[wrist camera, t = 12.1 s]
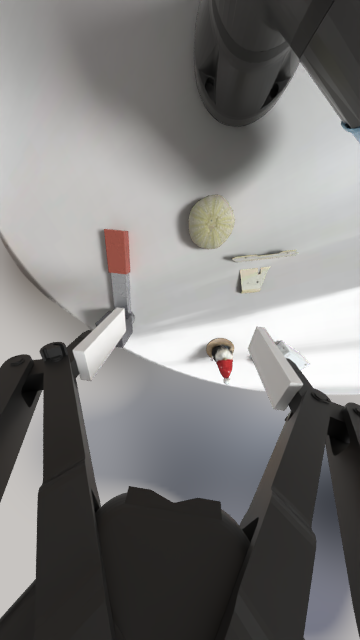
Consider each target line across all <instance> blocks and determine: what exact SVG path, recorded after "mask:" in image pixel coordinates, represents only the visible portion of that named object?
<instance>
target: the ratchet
mask: <svg viewBox="0 0 360 640" xmlns="http://www.w3.org/2000/svg"><path fill="white" fill-rule="evenodd" d="M104 233H105V243H106V252H107V261H108V270H109V272H110V273H111V279H112V289H113V299H114V308H115V309H116V308H117V307H119V308H124V309H125V313H131V314H132V324H133V322H134V320H135V317H134V314H133V313H132V312H131V304H130V284H129V273H130V259H129V238H128V231H121V230H112V229H104Z"/></svg>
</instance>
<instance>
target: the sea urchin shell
mask: <svg viewBox="0 0 360 640" xmlns="http://www.w3.org/2000/svg"><path fill="white" fill-rule="evenodd" d="M234 221H235V219H234V214H233V210H232V209H231V207H230V205H229V203H228V202H227V201H226V200H225V199H224V198H223V197H222V196H220V195H211V196H207V197H205V198H203V199H201V200H199V202H197V203H196V204H195V205H194V206H193V207H192V210H191V212H190V216H189V221H188V222H189V223H188V224H189V232H190V236H191V239H192V241H193V242H194V243H195V244H196V245H198V246H199V247H201V248H205V249H215V248H218V247H220V246H221V245H222V244H223V243H224V242H225V241H226V239H227V238H228V237H229V235H230V234H231V232H232V229H233V227H234Z"/></svg>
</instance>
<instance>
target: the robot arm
mask: <svg viewBox="0 0 360 640" xmlns="http://www.w3.org/2000/svg"><path fill="white" fill-rule="evenodd" d="M300 62H301V64H302V65H303V66H304V68H305V69H306V71H307V72H308V73H309V75H310V76H311V78H312V79H313V81H314V82H315V83H316V85H317V86H318V88H319V89H320V90H321V92H322V93H323V95H324V96H325V98H326V99H327V100H328V102H329V103H330V105H331V106H332V107H333V109H334V110H335V112H336V113H337V115H338V116H339V117H340V119H341V120H342V122H341V125H342V127H343V129H345V130H346V131H348V132H351V133H352V134H353V135H354V137H355V138H356V139H357V140H358V141H359V142H360V0H200V5H199V9H198V14H197V20H196V27H195V39H194V66H195V76H196V82H197V86H198V90H199V93H200V96H201V99H202V101H203V103H204V105H205V107H206V108H207V110H208V111H209V112H210V114H211V115H212V116H213V117H214V118H215V119H217V120H218V121H220V122H221V123H223V124H226V125H229V126H244V125H247V124H250V123H252V122H254V121H256V120H258V119H259V118H261V117H262V116H263V115H265V114H266V113H267V112H268V111H269V110H270V109H271V108H272V107H273V106H274V105H275V103H276V102H277V101H278V99H279V98H280V97H281V95H282V93H283V92H284V90H285V89H286V87H287V85H288V84H289V82H290V81H291V79H292V77H293V75H294V73H295V71H296V69H297V67H298V65H299V63H300ZM125 332H126V324H125V309H124V308H119V307H117V308H116V309H115V310H114V311H113V312H112V313H110V314H109V315H108V316H107V317H106V318H105V319H104V320H103V321H102V322H101V323H100V324H99V325H98V326H97V327H96V328H95V329H94V330H93V331H91V330H88V331H86V332H84V333H82V334H81V335H80V336H79V337H78V338H76V339H75V341H73V342H72V343H71V344H70V345H69V346H68V347H66V345H65V344H64V343H62V342H53V343H50V344H47V345H45V346H44V347H42V348H41V350H40V354H41V356H42V359H40V360H32V359H31V357H30V356H29V355H18V356H15V357H12V358H10V359H8V360H7V361H5V362H4V363H3V365H2V366H1V368H0V502H1V499H2V496H3V494H4V491H5V488H6V486H7V483H8V480H9V478H10V474H11V472H12V469H13V467H14V464H15V461H16V459H17V456H18V453H19V451H20V448H21V445H22V443H23V440H24V437H25V435H26V432H27V429H28V426H29V424H30V421H31V418H32V416H33V413H34V410H35V408H36V405H37V402H38V400H39V397H40V394H41V392H42V390H44V414H43V417H44V419H43V428H44V429H43V433H44V434H43V448H44V449H43V484H42V486H41V487H40V488H39V492H38V510H37V554H36V579H35V580H34V582H33V583H32V584H31V585H30V586H29V587H28V588H27V589H26V590H25V592H24V593H23V594H22V595H21V596H20V597H19V598H18V599H17V601H16V602H15V603H14V604H13V605H12V606H11V607H10V608H9V609H8V611H7V612H6V613H5V614H4V615H3V616H2V617H1V619H0V640H305V639H304V638H303V635H304V629H305V622H306V615H307V608H308V601H309V594H310V587H311V580H312V573H313V566H314V559H315V551H316V537H315V534H314V533H313V531H312V528H311V525H312V518H313V512H314V506H315V500H316V495H317V489H318V483H319V477H320V471H321V466H322V460H323V454H324V448H325V444H326V449H327V456H328V462H329V467H330V473H331V479H332V485H333V491H334V497H335V502H336V508H337V515H338V520H339V526H340V532H341V538H342V544H343V550H344V555H345V562H346V567H347V573H348V579H349V585H350V591H351V597H352V603H353V608H354V613H355V618H356V623H357V628H358V632H359V637H360V405H357V404H355V403H347V404H346V405H345V406H341V405H338V404H336V403H333V402H331V401H330V399H329V398H328V397H327V396H326V395H325V394H324V393H322V392H321V391H319V390H317V389H314V388H313V387H312V386H311V384H310V383H309V382H308V380H307V379H306V378H305V376H304V375H303V374H302V372H301V371H300V370H299V368H298V367H297V365H296V364H295V363H294V362H293V361H292V360H290V359H288V358H285V357H284V355H283V354H282V352H281V351H280V349H279V348H278V347H277V345H276V344H275V342H274V341H273V339H272V338H271V336H270V335H269V334H268V332H267V331H266V329H265V328H262V327H256V330H255V332H254V335H253V337H252V340H251V342H250V345H249V347H248V350H249V353H250V355H251V357H252V360H253V362H254V364H255V367H256V369H257V371H258V374H259V376H260V378H261V381H262V383H263V385H264V388H265V390H266V392H267V395H268V397H269V399H270V402H271V404H272V407H273V409H277V410H283V411H284V410H285V409H286V408H287V407H288V405H289V407H290V409H291V412H290V413H289V414H288V416H287V417H286V419H285V421H286V422H285V425H284V427H283V429H282V432H281V434H280V436H279V439H278V441H277V443H276V446H275V448H274V451H273V453H272V455H271V458H270V460H269V462H268V465H267V467H266V469H265V472H264V474H263V477H262V479H261V481H260V484H259V486H258V488H257V491H256V493H255V495H254V498H253V500H252V503H251V505H250V507H249V509H248V511H247V513H246V514H245V516H244V518H243V519H242V521H241V523H240V526H239V525H238V524H237V522H236V521H235V520H234V519H233V518H232V517H231V516H230V515H229V514H227V513H226V512H225V511H223V510H222V509H221V504H220V502H219V501H213V500H207V499H201V498H195V499H190V500H186V501H181V502H177V503H173V502H171V501H169V500H167V499H166V498H164V497H162V496H161V495H159V494H157V493H155V492H154V491H152V490H149V489H143V488H137V487H131V486H129V489H128V492H127V493H123V494H121V495H118V496H116V497H114V498H112V499H111V500H109V501H108V502H106V503H105V504H104V505H103V506H102V507H101V505H100V500H99V496H98V491H97V487H96V483H95V478H94V472H93V467H92V462H91V456H90V451H89V446H88V440H87V435H86V430H85V425H84V419H83V414H82V409H81V403H80V398H79V393H78V387H77V382H76V377H77V376H78V375H80V378H81V380H87V381H92V379H93V378H94V376H95V375H96V373H97V372H98V370H99V369H100V368H101V366H102V365H103V363H104V362H105V360H106V359H107V358H108V356H109V355H110V353H111V352H112V351H113V349H114V348H115V346H116V345H117V343H118V342H119V341H120V339H121V338H122V336H123V335H124V333H125Z"/></svg>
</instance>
